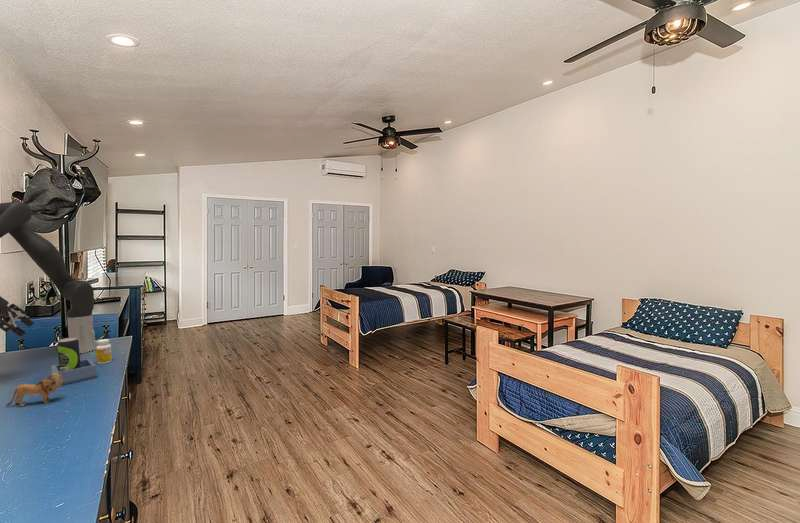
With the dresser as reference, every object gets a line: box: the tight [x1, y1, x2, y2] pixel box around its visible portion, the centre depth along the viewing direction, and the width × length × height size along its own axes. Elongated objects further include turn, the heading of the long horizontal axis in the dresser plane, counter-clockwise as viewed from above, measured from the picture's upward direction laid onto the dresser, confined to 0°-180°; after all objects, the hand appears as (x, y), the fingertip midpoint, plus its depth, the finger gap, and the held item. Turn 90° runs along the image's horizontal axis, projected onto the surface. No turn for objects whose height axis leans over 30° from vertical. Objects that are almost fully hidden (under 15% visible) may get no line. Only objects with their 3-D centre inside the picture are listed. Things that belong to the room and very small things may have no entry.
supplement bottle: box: [95, 338, 113, 365], centre depth 171 cm, size 5×5×10 cm
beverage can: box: [57, 337, 81, 372], centre depth 150 cm, size 6×6×15 cm
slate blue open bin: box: [50, 358, 98, 386], centre depth 152 cm, size 12×12×5 cm
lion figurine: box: [5, 373, 63, 407], centre depth 131 cm, size 15×5×9 cm, turn 119°
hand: (27, 329), depth 154 cm, fingers open, 8 cm apart
